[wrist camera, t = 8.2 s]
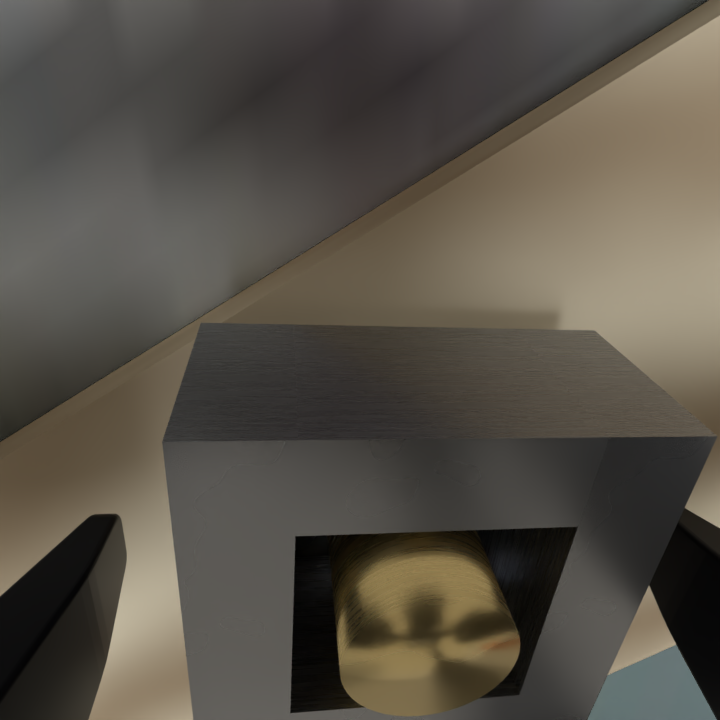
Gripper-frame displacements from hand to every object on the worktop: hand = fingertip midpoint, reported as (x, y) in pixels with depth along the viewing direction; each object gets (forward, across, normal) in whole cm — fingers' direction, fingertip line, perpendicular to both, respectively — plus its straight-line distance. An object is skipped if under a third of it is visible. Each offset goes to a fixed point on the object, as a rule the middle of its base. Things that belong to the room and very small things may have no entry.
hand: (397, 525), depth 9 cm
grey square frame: (+1, 0, 0) cm, 1 cm away
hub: (+3, 0, 0) cm, 3 cm away
